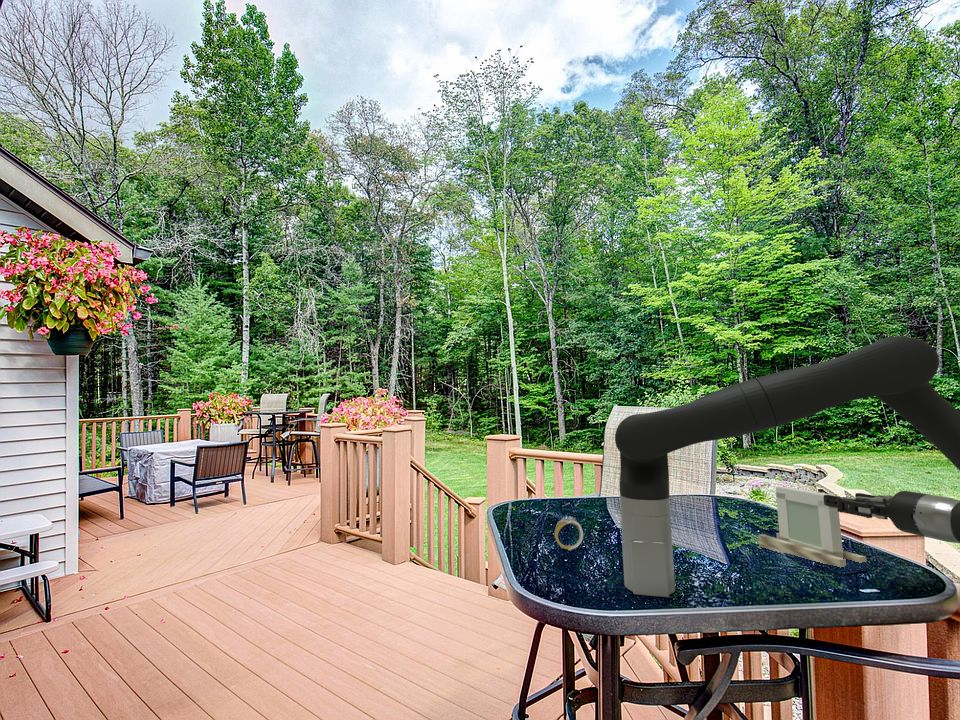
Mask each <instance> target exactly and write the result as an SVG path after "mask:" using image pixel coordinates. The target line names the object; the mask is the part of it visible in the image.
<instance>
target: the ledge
mask: <svg viewBox="0 0 960 720" xmlns="http://www.w3.org/2000/svg"><path fill="white" fill-rule="evenodd" d="M758 544H759V545H758V546H759V548H760V547H762V548H766V549H769V550H773V551H777V552H781V553H787V554H791V555H795V556H798V557H802V558H805V559H809V560H812V561H816V562H820V563H823V564H828V565H833V566H837V567H840V568H841V567H845V566H846V559H848V560H852V561H855V562H859V563H862V562H867V556H865V555H860V554H857V553H853V552H850V551H847V550H843V558H844V559H843V558H840V557H837V556H833V555H830V554H827V553H824V552H820V551H817V550H814V549H810V548H807V547H804V546H800V545H797V544H794V543H791V542H787V541H784V540H781V539H780V534H779V532H776V537H773V536H770V535H768V534H758ZM762 548H761V549H762Z"/></svg>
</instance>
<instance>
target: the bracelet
mask: <svg viewBox="0 0 960 720" xmlns="http://www.w3.org/2000/svg"><path fill="white" fill-rule="evenodd" d="M567 524H571V525H574V526H575V527H576V528H577V530H578V532H579V537H578V540H577V541H576V543H575V544H573V545H570V544H568V545H564V544H562V542H561V541H560V540H559V532H560V531H561V529H562V528H563V527H564V526H566V525H567ZM554 538H555V541H556V543H557V545H558V546H559V547H561V548H562V549H564V550H568V551H572V550H574V549H576V548H578V547H579V546H580V545H581V544H582V541H583V538H584V531H583V528H582V526H581V524H580V523H579V522H578V521H577V520H576V517H573V516H570V515H569V516H567V515H565V516H563V517H562V518H561V519H560V520H559V521H558V522H557V523H556V526H555V529H554Z"/></svg>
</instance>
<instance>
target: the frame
mask: <svg viewBox="0 0 960 720" xmlns="http://www.w3.org/2000/svg"><path fill="white" fill-rule="evenodd" d="M824 495H832V496H837V497H838V495H836V494H830V493H829V494H828V493H824V492H819V491H814V490H807V489H802V488H797V487H791V486H784V485H783V486H782V485H781V486H775V496H776V497H775V498H776V508H777V509H776V510H777V520H778V533H779V534H780V539H781V540H784V541H787V542H791V543H794V544H797V545H800V546H804V547H807V548H810V549H814V550H817V551H820V552H824V553H827V554H830V555H833V556H837V557H840V558H843V542H842V541H843V540H842V539H843V538H842V533H841V532H842V531H841V522H840V520H841V519H840V512H838V511H837V508H835V507H830V506H826V505H825V504H824Z"/></svg>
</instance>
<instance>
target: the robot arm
mask: <svg viewBox="0 0 960 720" xmlns="http://www.w3.org/2000/svg"><path fill="white" fill-rule="evenodd" d="M939 367H940V357H939V355H938V352H937V351H936V349H935V348H934V347H933V346H931V345H930V344H929V343H927V342H926V341H923V340H921V339H919V338H916V337H912V336H911V337H910V336H905V335H904V336H901V335H898V336H897V335H896V336H888V337H884V338H881V339H878V340H876V341H874V342H872V343H870V344H867V345H866V346H863V347H861V348H859V349H855V350H854V351H851V352H849V353H845V354H842V355H839V356H838V357H834V358H832V359H829V360H826V361H822V362H819V363H815V364H810V365H805V366H800V367H793V368H789V369H785V370H781V371H777V372H772V373H769V374H767V375H761V376H757V377H755V378H750V379H748V380H747V379H746V380H745V381H740V382H738V383H735V384H731V385H729V386H726V387H723V388H721V389H718V390H715V391H713V392H711V393H710V392H709V393H708V394H706V395H703V396H701V397H699V398H697V399H694V400H692V401H691V402H688V403H684V404H683V405H679V406H676V407H675V406H674V407H671V408H666V409H662V410H658V411H652V412H646V413H636V414H631V415H629V416H626V417H625V418H624V419H623V420H622V421H620V423H619V424H618V426H617V427H616V430H615V434H614V442H615V446H616V448H617V449H618V451H619V457H620V458H619V459H620V473H619V474H620V475H619V498H620V499H619V502H620V523H621V525H620V526H621V527H620V528H621V543H622V544H621V545H622V547H621V548H622V564H623V581H624V582H623V584H624V587H625V588H626V589H627V590H629V591H631V592H632V593H633V595H639V596H640V595H641V596H650V597H651V596H652V597H662V598H669V597H670V595H672V594H673V593H675V591H676V583H675V567H674V551H673V537H672V519H671V504H670V503H671V500H670V473H669V472H670V471H669V457H668V456H669V455H668V454H670V453H672V452H675V451H677V450H682V449H683V448H687V447H689V446H692V445H696V444H700V443H704V442H710V441H711V442H712V441H718V440H725V439H730V438H735V437H740V436H744V435H750V434H754V433H759V432H762V431H765V430H769V429H772V428H776V427H780V426H784V425H787V424H789V423H790V424H791V423H794V422H796V421H799V420H802V419H805V418H807V417H810V416H813V415H815V414H818V413H820V412H823V411H825V410H828V409H830V408H832V407H835V406H838V405H841V404H842V405H843V404H846V403H847V402H852V401H857V400H861V399H862V400H863V399H866V398H868V399H869V398H872V397H875V398H876V399H878V400H879V401H881V402H882V403H883V404H885V405H887V406H888V407H889V408H890V409H892V411H894V412H896V414H898V415H899V416H900V417H902V418H903V420H905V421H906V422H908V424H910V425H912V426H913V428H914V429H916V430H917V431H918V432H919V433H920V434H921V435H922V436H924V438H926V439H927V440H928V442H930V443H931V445H933V446H934V447H935V448H936V449H937V450H938V451H939V452H940V453H941V454H943V456H944V457H945V458H947V460H949V461H950V462H951V463H952V465H953V466H954V467H956V469H957V470H958V471H959V472H960V410H958V409H957V408H956V407H954V406H953V405H952V404H951V403H950V402H948V401H947V400H946V399H945V398H944V397H943V396H941V394H940V393H939V392H938V391H937V390H936V389H935V388H934V387H933V386H932V384H931V383H930V381H932V380H933V378H934V377H935V376H936V374H937V372H938V370H939ZM832 495H833V494H831V495H824V504H825V505H826V506H830V507H835V508H837V511H838V512H839V513H842V514H849V515H853V516H859V517H862V518H866V519H870V518H871V519H872V518H876V519H879V520H889V519H890V521H891V523H892V524H893V525H894V526H895V528H896V529H898V530H899V531H900V532H903V533H906V534H912V535H916V536H919V537H924V538H929V539H932V540H938V541H942V542H946V543H953V544H960V499H956V498H953V497H948V496H942V495H941V496H940V495H937V494H936V495H935V494H929V493H923V492H918V491H917V492H916V491H910V490H901V491H898V492H896V493H895V494H894V495H886V494H885V495H883V494H879V495H875V494H874V495H873V494H869V493H868V494H867V493H861V492H857V493H855V494H854V498H851V497H845V496H838V495H837V496H832Z"/></svg>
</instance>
